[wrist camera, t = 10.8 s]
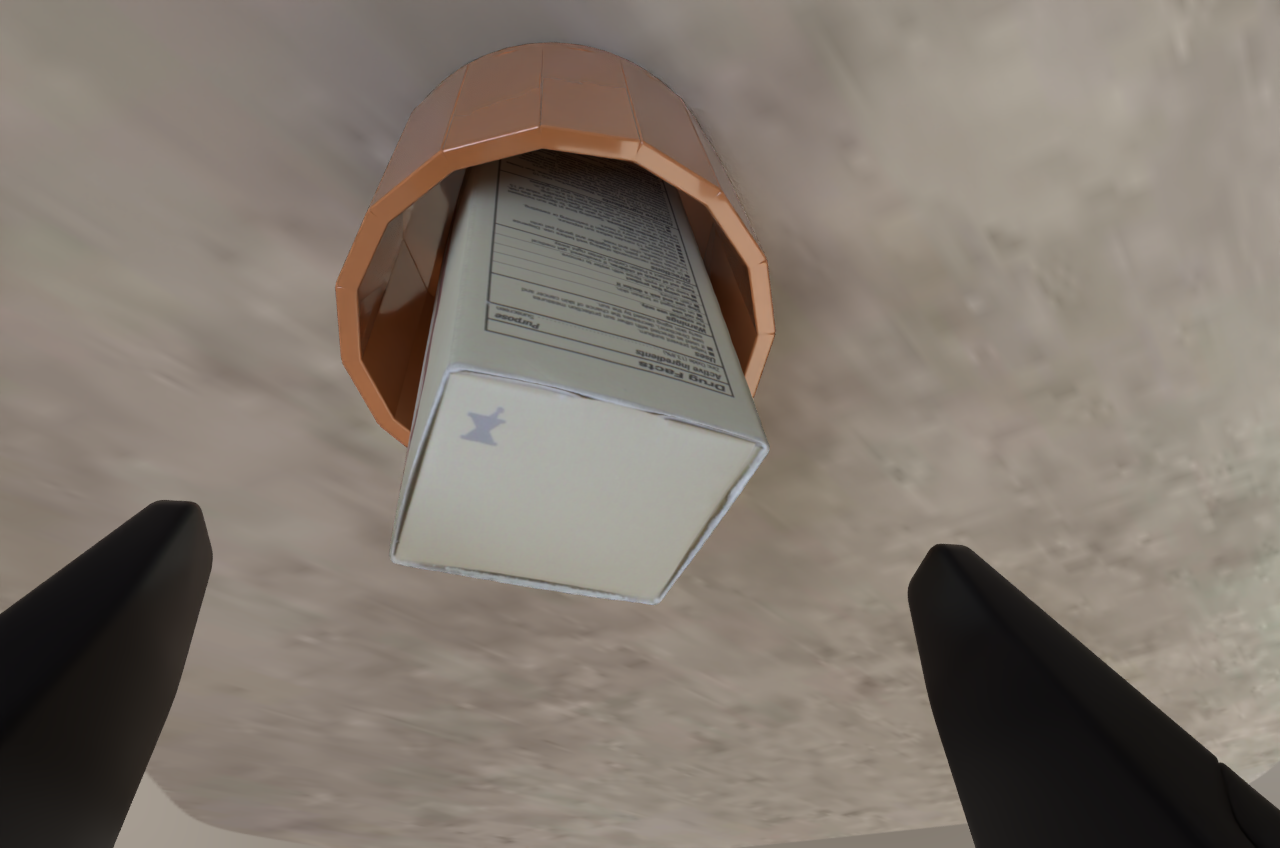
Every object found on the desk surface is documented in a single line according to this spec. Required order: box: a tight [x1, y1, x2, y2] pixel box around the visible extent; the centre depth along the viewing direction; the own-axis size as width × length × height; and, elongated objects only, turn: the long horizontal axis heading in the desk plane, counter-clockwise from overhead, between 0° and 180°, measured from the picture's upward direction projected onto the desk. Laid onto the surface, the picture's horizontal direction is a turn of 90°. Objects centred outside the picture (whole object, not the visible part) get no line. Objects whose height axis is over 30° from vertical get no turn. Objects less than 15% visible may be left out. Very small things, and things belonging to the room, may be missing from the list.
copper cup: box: [335, 42, 776, 448], centre depth 17 cm, size 9×9×6 cm
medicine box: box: [389, 149, 770, 605], centre depth 15 cm, size 5×4×10 cm
